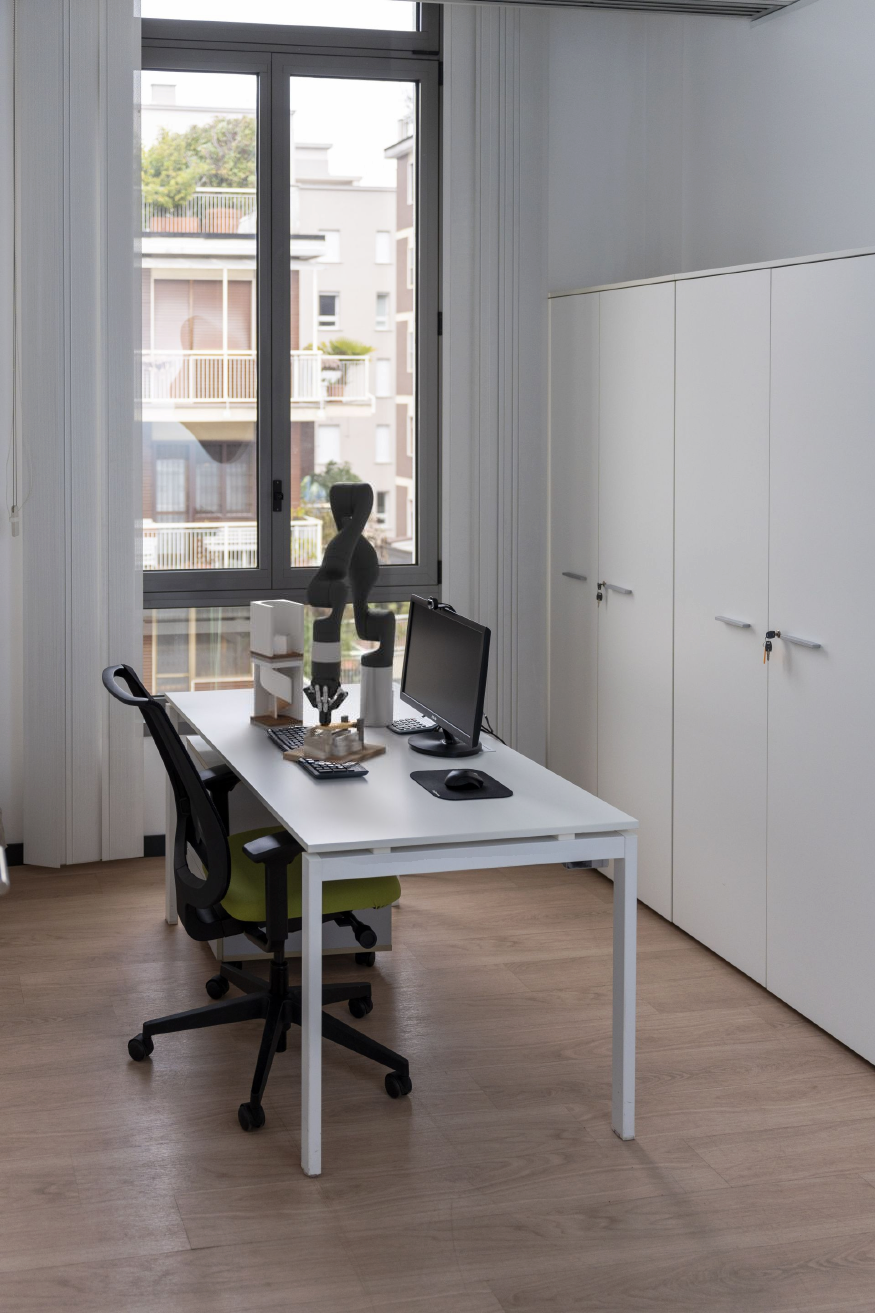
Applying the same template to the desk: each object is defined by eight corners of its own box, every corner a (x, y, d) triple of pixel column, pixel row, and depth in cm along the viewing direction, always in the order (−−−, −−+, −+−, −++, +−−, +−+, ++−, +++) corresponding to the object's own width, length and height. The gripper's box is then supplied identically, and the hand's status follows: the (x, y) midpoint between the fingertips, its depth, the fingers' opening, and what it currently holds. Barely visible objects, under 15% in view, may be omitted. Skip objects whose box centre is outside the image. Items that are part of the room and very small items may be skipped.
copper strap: (349, 726, 352) (349, 720, 351) (358, 728, 350) (359, 722, 350) (315, 730, 338) (315, 724, 338) (324, 731, 336) (325, 725, 336)
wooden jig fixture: (329, 742, 358) (329, 711, 356) (385, 752, 349) (386, 720, 348) (282, 758, 340) (283, 725, 338) (341, 769, 331) (341, 735, 330)
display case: (250, 723, 378) (250, 601, 372) (282, 719, 384) (283, 599, 378) (269, 731, 369) (270, 606, 363) (302, 727, 375) (303, 604, 369)
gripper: (356, 659, 336) (354, 726, 339) (313, 654, 342) (312, 719, 345) (339, 663, 330) (338, 731, 332) (296, 657, 336) (295, 724, 339)
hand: (324, 725), depth 339 cm, fingers closed
